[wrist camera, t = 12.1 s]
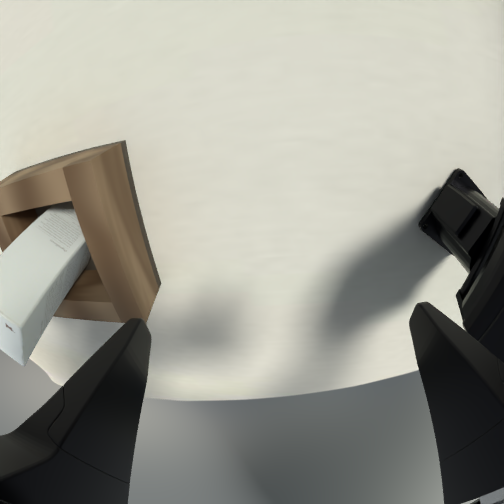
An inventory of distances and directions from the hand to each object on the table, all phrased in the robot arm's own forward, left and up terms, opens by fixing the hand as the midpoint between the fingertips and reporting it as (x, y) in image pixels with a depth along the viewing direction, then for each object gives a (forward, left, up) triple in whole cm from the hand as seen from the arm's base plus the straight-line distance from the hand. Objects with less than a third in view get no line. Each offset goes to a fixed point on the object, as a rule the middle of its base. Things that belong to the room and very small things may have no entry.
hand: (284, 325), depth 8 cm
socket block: (+13, +10, -13) cm, 21 cm away
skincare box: (+13, +10, -12) cm, 21 cm away
